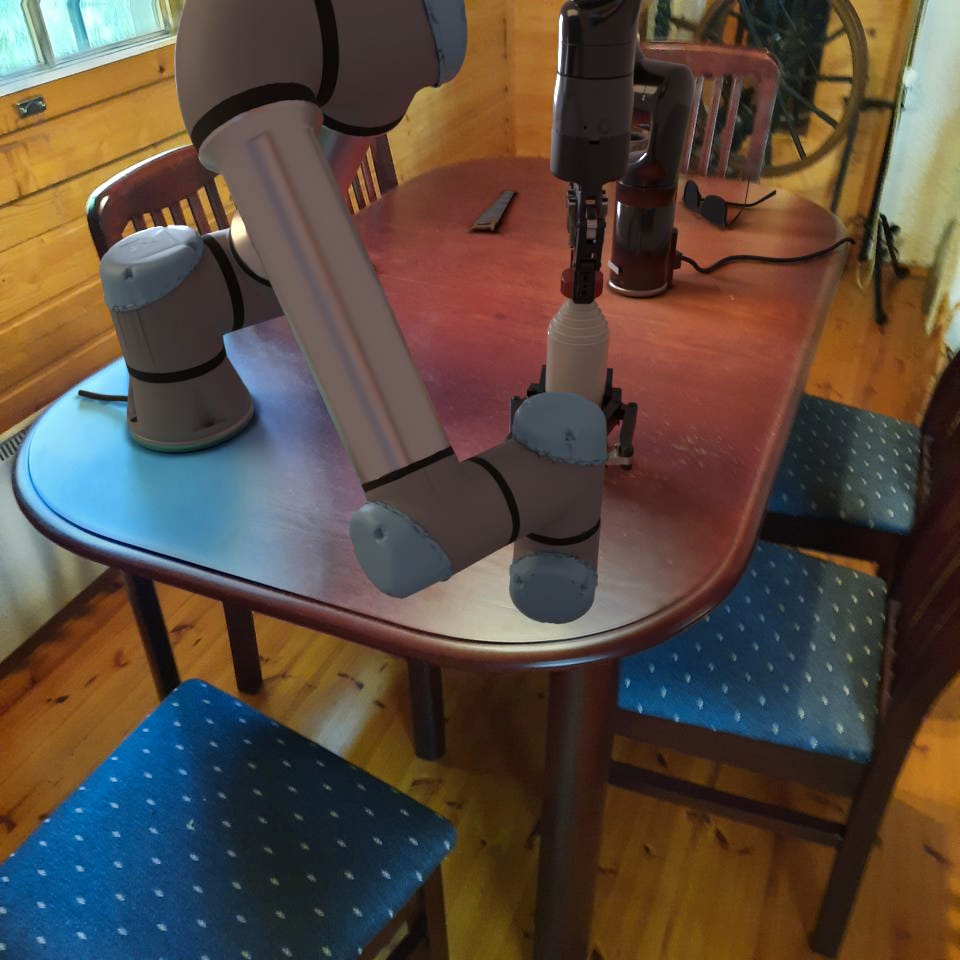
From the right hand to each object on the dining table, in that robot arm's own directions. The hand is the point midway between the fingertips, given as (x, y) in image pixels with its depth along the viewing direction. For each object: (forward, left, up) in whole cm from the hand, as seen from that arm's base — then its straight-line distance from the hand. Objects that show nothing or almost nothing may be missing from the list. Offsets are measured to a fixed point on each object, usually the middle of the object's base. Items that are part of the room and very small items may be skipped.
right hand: (581, 291), depth 91 cm
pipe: (-62, -83, -20) cm, 105 cm away
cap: (0, 0, +2) cm, 2 cm away
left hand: (-3, -4, -13) cm, 14 cm away
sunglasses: (-68, -54, -20) cm, 89 cm away
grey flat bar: (-29, -76, -20) cm, 84 cm away
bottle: (0, 0, -20) cm, 20 cm away
